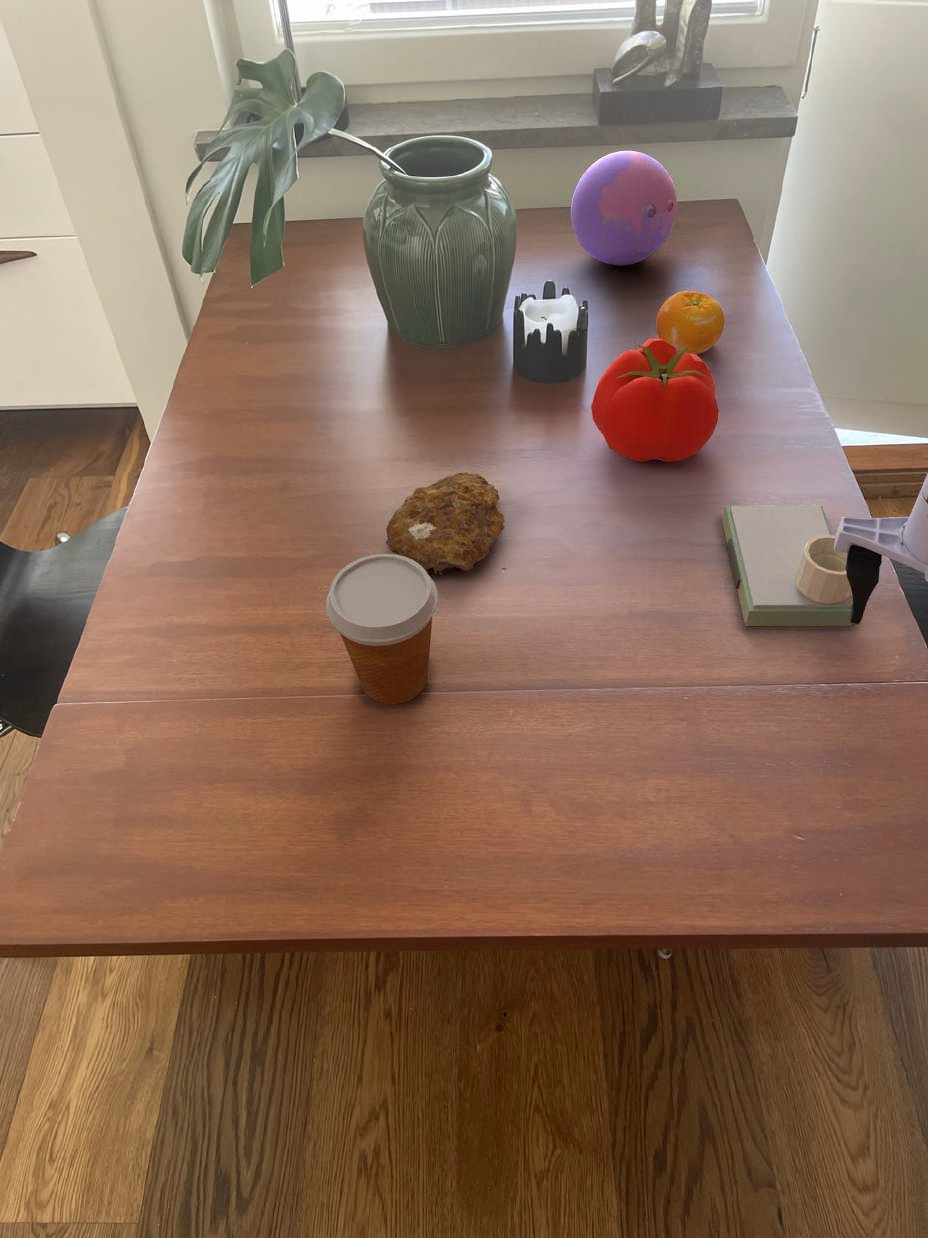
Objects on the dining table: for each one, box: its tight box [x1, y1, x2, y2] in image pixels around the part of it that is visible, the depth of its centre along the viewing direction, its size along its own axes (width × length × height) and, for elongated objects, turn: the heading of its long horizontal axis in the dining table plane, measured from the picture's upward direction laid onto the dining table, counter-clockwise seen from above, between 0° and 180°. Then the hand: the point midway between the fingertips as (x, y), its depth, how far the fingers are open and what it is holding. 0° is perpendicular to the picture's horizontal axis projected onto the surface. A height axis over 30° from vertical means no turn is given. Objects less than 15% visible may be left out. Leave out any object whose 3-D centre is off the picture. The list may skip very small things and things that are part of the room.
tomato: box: [590, 338, 720, 463], centre depth 103 cm, size 13×14×12 cm
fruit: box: [655, 290, 725, 355], centre depth 119 cm, size 8×9×8 cm
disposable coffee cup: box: [325, 553, 439, 705], centre depth 82 cm, size 10×10×12 cm
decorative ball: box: [570, 150, 678, 266], centre depth 132 cm, size 15×15×15 cm
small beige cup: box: [795, 534, 852, 604], centre depth 86 cm, size 5×5×4 cm
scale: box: [721, 504, 853, 627], centre depth 92 cm, size 15×10×3 cm
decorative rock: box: [385, 472, 506, 576], centre depth 98 cm, size 11×4×15 cm
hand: (904, 625), depth 75 cm, fingers open, 7 cm apart
